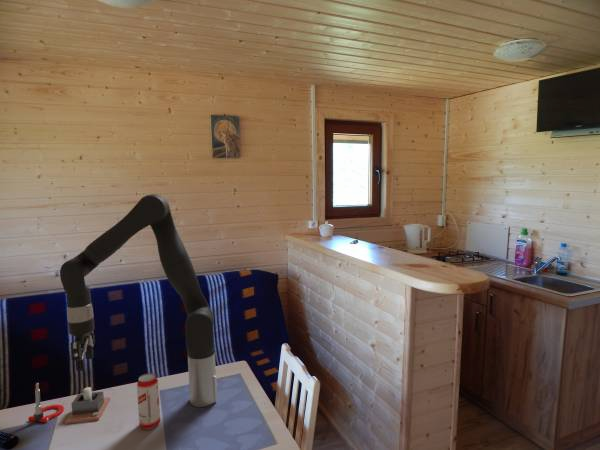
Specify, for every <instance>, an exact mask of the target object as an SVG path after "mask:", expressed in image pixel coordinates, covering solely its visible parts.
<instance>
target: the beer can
mask: <svg viewBox="0 0 600 450" xmlns="http://www.w3.org/2000/svg"><path fill="white" fill-rule="evenodd" d="M136 389H137V390H136V391H137V392H136V393H137V408H138V421H139V423H138V424H139V427H140V428H142V430H152V429H154V428H156V427H157V426H158V425H159V424H160V422H161V408H160V394H159V393H160V391H159V380H158V378H157V376H156V374H155V373H144V374H142V375H140V376H139V377H138V381H137V384H136Z"/></svg>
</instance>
